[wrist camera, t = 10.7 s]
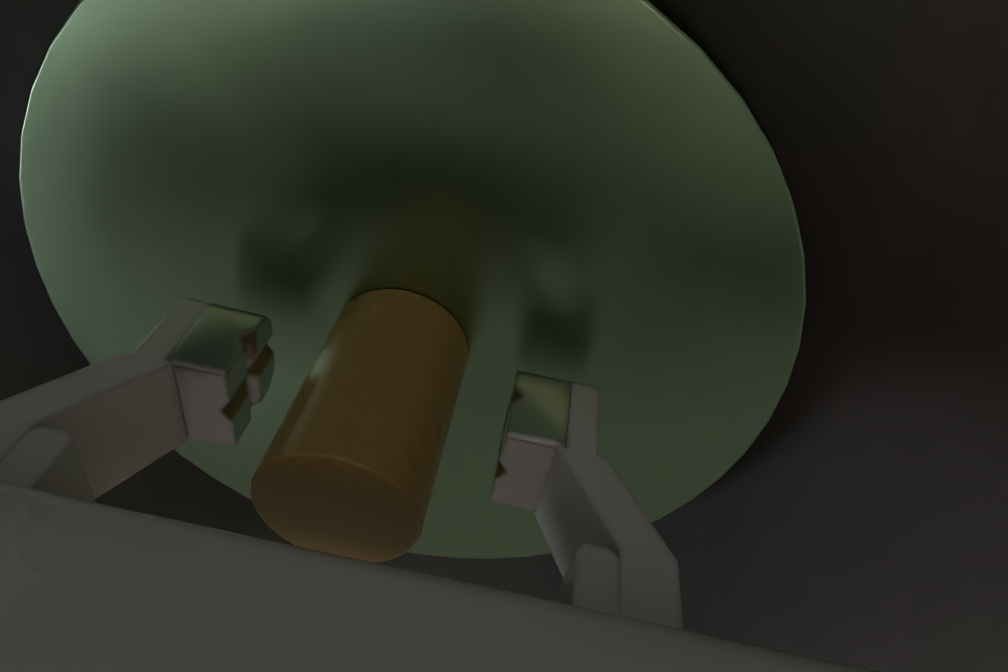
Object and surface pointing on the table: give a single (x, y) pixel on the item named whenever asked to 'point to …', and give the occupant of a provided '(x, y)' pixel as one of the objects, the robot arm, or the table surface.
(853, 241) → the table surface
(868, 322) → the table surface
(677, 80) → the tin lid
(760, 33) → the table surface
